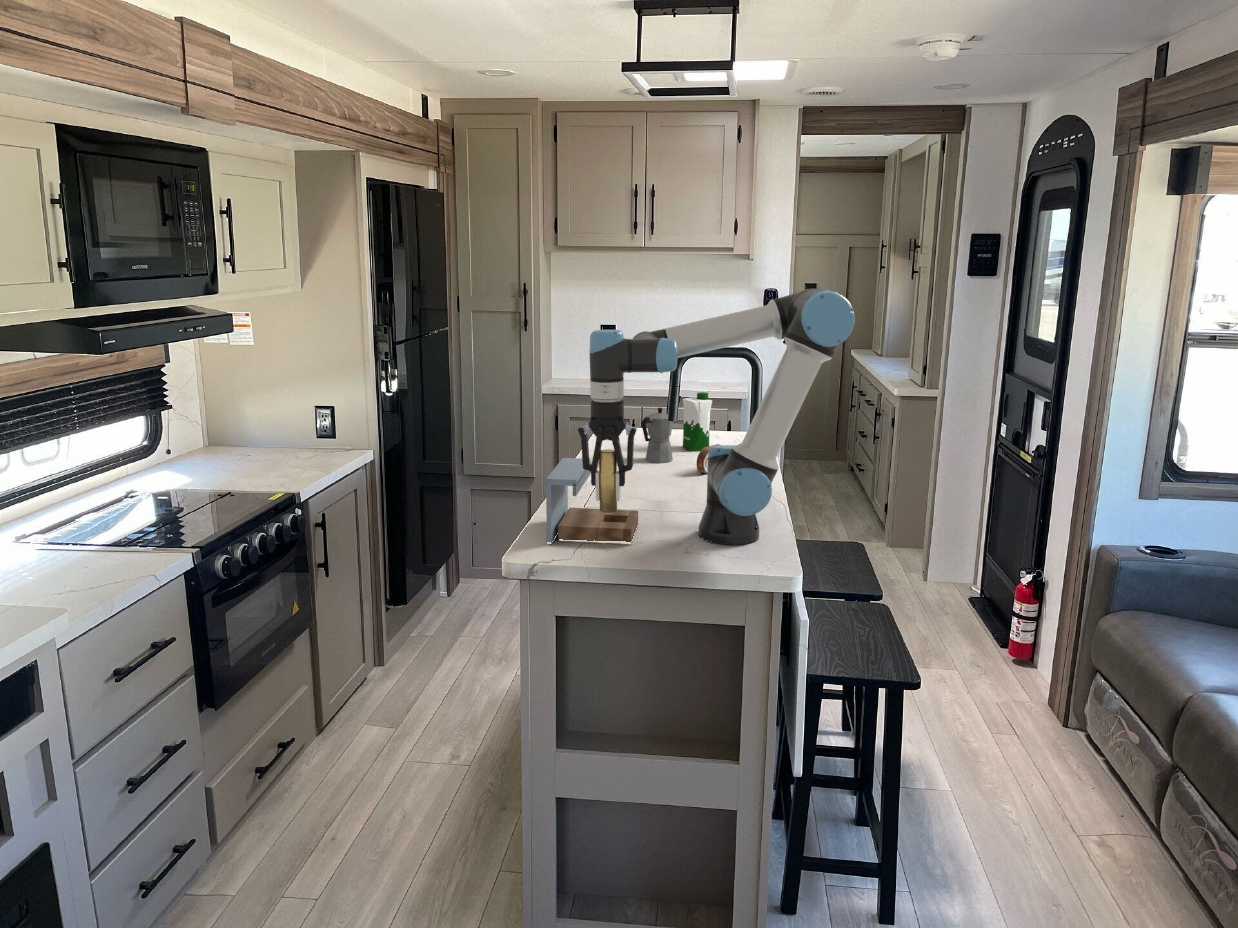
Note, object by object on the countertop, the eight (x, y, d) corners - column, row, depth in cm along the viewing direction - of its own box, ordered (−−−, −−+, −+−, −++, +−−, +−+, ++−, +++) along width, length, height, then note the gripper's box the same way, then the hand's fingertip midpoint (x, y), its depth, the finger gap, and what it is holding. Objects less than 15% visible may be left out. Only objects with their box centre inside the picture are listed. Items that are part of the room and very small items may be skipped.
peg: (619, 511, 211) (619, 452, 207) (603, 513, 209) (603, 453, 206) (612, 506, 214) (612, 448, 211) (597, 509, 213) (596, 450, 209)
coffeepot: (661, 454, 316) (662, 403, 312) (682, 459, 310) (683, 407, 306) (631, 462, 305) (631, 409, 301) (652, 466, 299) (653, 412, 295)
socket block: (638, 525, 237) (638, 510, 236) (631, 544, 221) (631, 529, 220) (569, 522, 239) (569, 507, 238) (558, 541, 223) (557, 525, 222)
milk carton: (712, 450, 324) (714, 394, 319) (690, 452, 320) (692, 396, 316) (700, 445, 332) (702, 391, 327) (678, 447, 328) (680, 392, 323)
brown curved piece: (721, 466, 301) (722, 441, 299) (729, 468, 299) (730, 443, 297) (695, 475, 289) (695, 449, 287) (703, 476, 287) (704, 450, 286)
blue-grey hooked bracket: (590, 519, 241) (590, 458, 237) (576, 546, 220) (575, 479, 216) (563, 518, 242) (563, 457, 238) (546, 544, 221) (546, 478, 217)
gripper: (566, 401, 203) (569, 502, 208) (643, 402, 201) (643, 504, 206) (572, 396, 210) (574, 494, 216) (646, 397, 208) (646, 495, 214)
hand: (608, 499), depth 211 cm, fingers closed on peg, 4 cm apart
